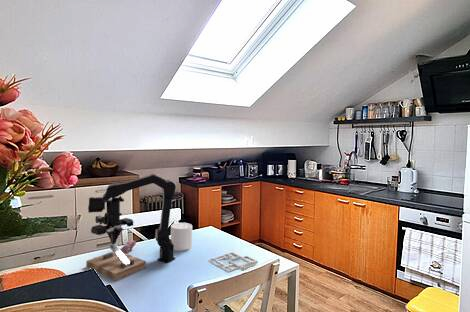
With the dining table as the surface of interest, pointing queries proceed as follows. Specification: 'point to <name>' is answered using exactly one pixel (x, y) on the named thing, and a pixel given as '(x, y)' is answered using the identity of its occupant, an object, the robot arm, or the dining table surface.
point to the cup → (181, 236)
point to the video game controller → (128, 246)
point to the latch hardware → (112, 256)
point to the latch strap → (119, 254)
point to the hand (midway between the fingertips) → (113, 244)
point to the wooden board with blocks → (115, 266)
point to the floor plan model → (225, 256)
